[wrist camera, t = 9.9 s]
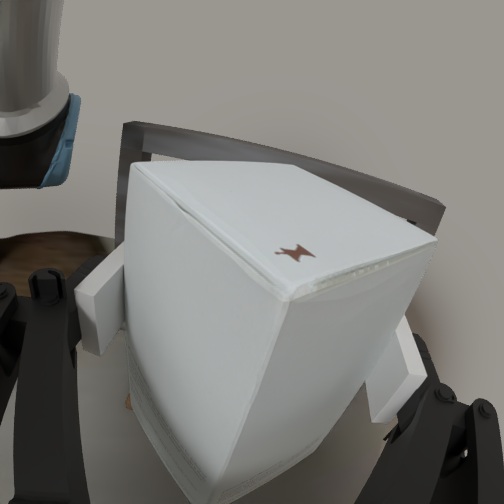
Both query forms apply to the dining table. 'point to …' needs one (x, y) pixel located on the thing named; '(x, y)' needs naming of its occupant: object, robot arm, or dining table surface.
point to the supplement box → (254, 313)
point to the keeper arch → (229, 149)
